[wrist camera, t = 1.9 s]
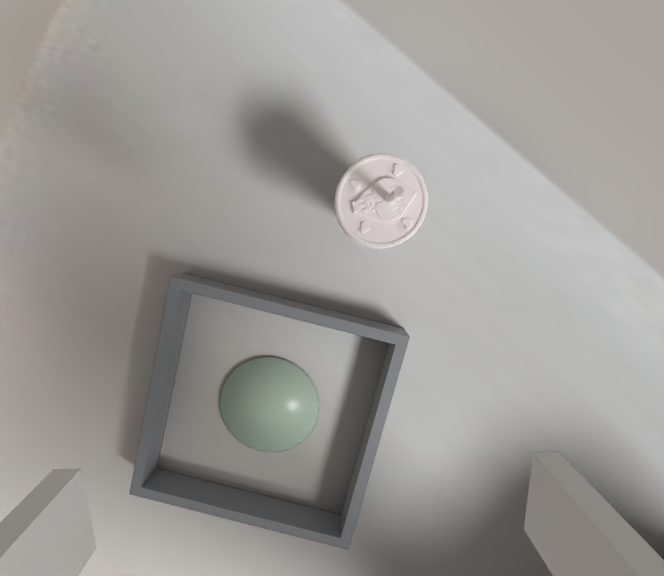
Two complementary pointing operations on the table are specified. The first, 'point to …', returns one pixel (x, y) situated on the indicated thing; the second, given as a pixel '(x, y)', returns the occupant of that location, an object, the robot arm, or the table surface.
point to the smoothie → (381, 200)
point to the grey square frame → (260, 415)
